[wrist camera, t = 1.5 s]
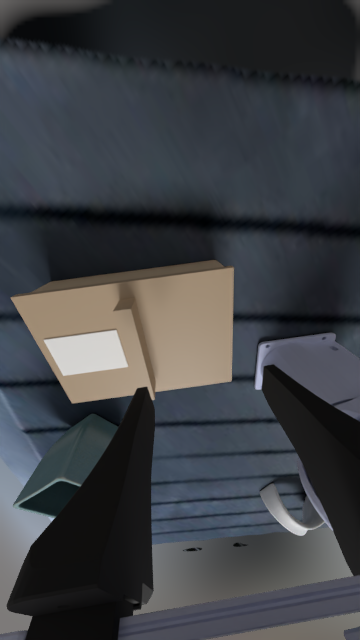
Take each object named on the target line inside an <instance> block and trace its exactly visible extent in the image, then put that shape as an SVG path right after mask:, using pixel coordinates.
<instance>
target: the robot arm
mask: <svg viewBox="0 0 360 640" xmlns="http://www.w3.org/2000/svg"><path fill="white" fill-rule="evenodd" d="M335 338H336V334H334V333H332V332H331V333H324V334H316V335H309V336H302V337H295V338H288V339H280V340H273V341H266V342H261V343H260V344H259V345H258V354H257V364H256V374H255V384H254V387H255V389H257V390H259V389H262V391H263V393H264V396H265V398H266V400H267V402H268V404H269V406H270V408H271V410H272V411H273V413H274V415H275V416H276V418H277V420H278V421H279V423H280V425H281V426H282V428H283V430H284V431H285V433H286V434H287V436H288V438H289V439H290V441H291V443H292V445H293V446H294V448H295V450H296V452H297V454H298V456H299V458H298V461H297V465H298V471H299V475H300V479H301V482H302V485H303V488H304V490H305V492H306V494H307V496H308V498H309V500H310V501H311V503H312V505H313V506H314V508H315V509H316V511H317V512H318V514H319V515H320V516H321V518H322V519H323V520H324V521H325V523H326V524H327V525H328V526H329V527H330V528H331V529H332V530H333V531H334V534H335V536H336V539H337V541H338V543H339V545H340V548H341V550H342V553H343V555H344V557H345V560H346V562H347V564H348V566H349V568H350V570H351V572H352V574H353V575H354V576H352V577H347V578H341V579H335V580H330V581H324V582H318V583H313V584H307V585H302V586H296V587H291V588H285V589H279V590H274V591H268V592H263V593H257V594H251V595H246V596H240V597H235V598H229V599H223V600H218V601H212V602H207V603H202V604H195V605H190V606H185V607H179V608H173V609H167V610H162V611H156V612H151V613H145V614H140V615H134V616H133V611H134V610H140V609H141V605H144V604H147V603H148V601H149V599H150V597H151V595H152V593H153V570H152V533H151V468H152V456H153V444H154V431H155V409H154V405H153V402H152V399H151V396H150V393H149V390H148V387H141V388H137V389H136V391H135V394H134V396H133V398H132V401H131V403H130V405H129V407H128V409H127V411H126V413H125V415H124V417H123V419H122V421H121V423H120V425H119V427H118V429H117V431H116V432H115V434H114V436H113V438H112V440H111V441H110V443H109V445H108V446H107V448H106V450H105V451H104V453H103V454H102V456H101V457H100V459H99V461H98V462H97V464H96V465H95V466H94V468H93V469H92V471H91V472H90V474H89V475H88V477H87V478H86V479H85V481H84V482H83V483H82V485H81V486H80V487H79V489H78V490H77V491H76V493H75V494H74V495H73V496H72V498H71V499H70V500H69V501H68V503H67V504H66V505H65V507H64V508H63V509H62V510H61V512H60V513H59V514H58V515H57V516H56V518H55V519H54V520H53V521H52V522H51V523H50V525H49V526H48V527H47V528H46V529H45V530H44V532H43V533H42V534H41V535H40V536H39V537H38V539H37V540H36V541H35V542H34V543H33V544H32V545H31V547H30V550H29V552H28V554H27V556H26V558H25V560H24V563H23V565H22V568H21V570H20V573H19V575H18V578H17V580H16V583H15V586H14V588H13V591H12V593H11V595H10V598H9V600H8V603H7V609H8V610H9V611H11V612H14V613H19V614H24V615H29V616H33V617H32V620H31V623H30V626H29V629H28V631H16V632H10V633H5V634H0V640H206V639H211V638H217V637H222V636H228V635H233V634H239V633H245V632H250V631H256V630H261V629H267V628H273V627H278V626H283V625H289V624H294V623H300V622H306V621H311V620H317V619H323V618H328V617H334V616H339V615H345V614H350V613H356V612H360V359H359V358H358V357H357V356H355V355H354V354H352V353H351V352H350V351H348V350H347V349H345V348H344V347H343V346H341V345H340V344H338V343H337V342H336V341H335ZM266 345H267V346H266ZM344 636H345V638H346V640H360V626H359V627H357V628H353V629H348V630H344Z"/></svg>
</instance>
